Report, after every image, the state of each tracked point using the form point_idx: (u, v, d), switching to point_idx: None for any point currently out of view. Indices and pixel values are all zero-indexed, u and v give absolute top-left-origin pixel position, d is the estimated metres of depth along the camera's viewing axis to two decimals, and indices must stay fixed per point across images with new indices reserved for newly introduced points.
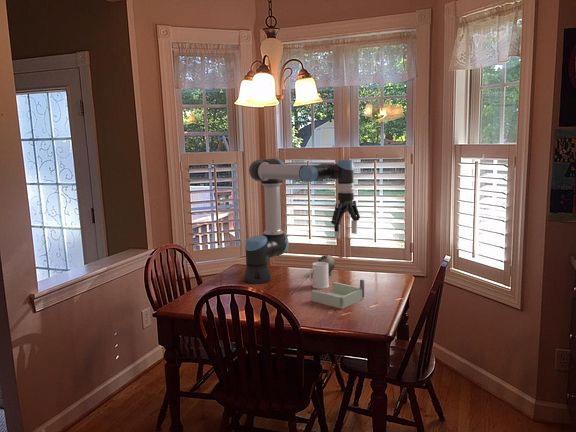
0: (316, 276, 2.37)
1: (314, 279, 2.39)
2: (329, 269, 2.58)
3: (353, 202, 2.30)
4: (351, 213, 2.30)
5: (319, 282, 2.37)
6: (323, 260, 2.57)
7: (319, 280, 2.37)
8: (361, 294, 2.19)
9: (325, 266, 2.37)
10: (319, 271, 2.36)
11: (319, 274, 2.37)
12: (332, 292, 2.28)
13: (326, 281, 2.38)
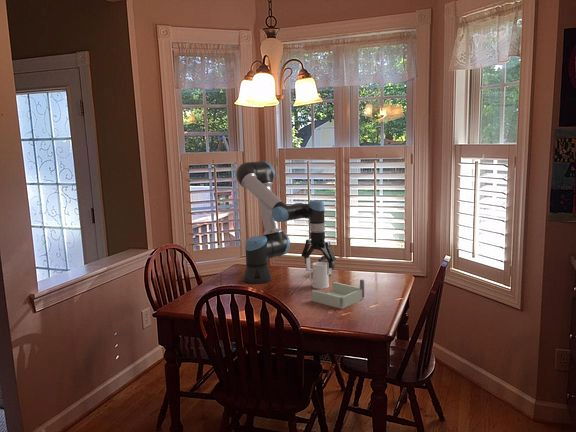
0: (316, 276, 2.37)
1: (314, 279, 2.39)
2: None
3: None
4: None
5: (319, 282, 2.37)
6: (323, 260, 2.57)
7: (319, 280, 2.37)
8: (361, 294, 2.19)
9: (325, 266, 2.37)
10: (319, 271, 2.36)
11: (319, 274, 2.37)
12: (332, 292, 2.28)
13: (326, 281, 2.38)
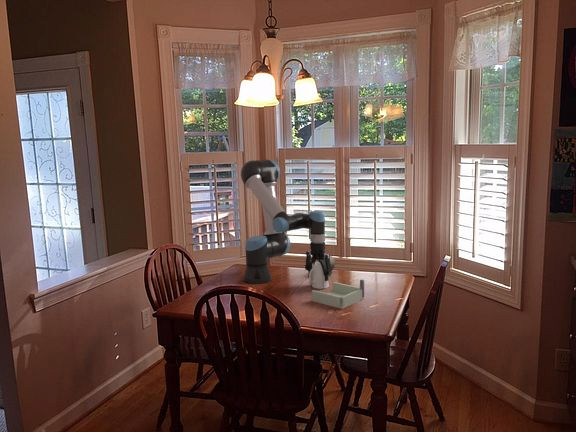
0: (316, 276, 2.38)
1: (314, 279, 2.39)
2: None
3: None
4: None
5: (318, 282, 2.37)
6: None
7: (319, 280, 2.37)
8: (361, 294, 2.19)
9: None
10: (318, 271, 2.37)
11: (319, 274, 2.37)
12: (332, 292, 2.28)
13: None
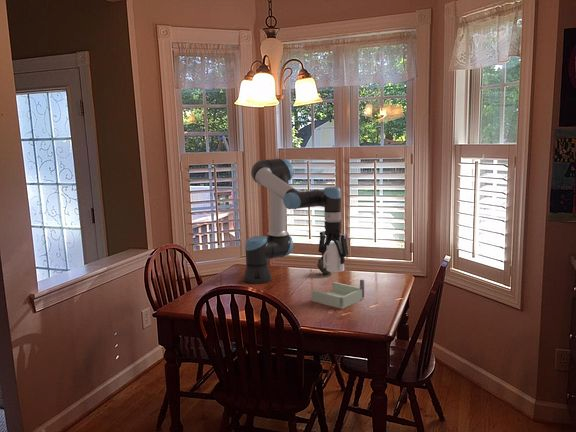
0: (331, 258, 2.17)
1: (328, 262, 2.18)
2: None
3: None
4: None
5: (333, 265, 2.17)
6: None
7: (334, 263, 2.17)
8: (361, 294, 2.19)
9: None
10: (333, 253, 2.16)
11: (334, 256, 2.16)
12: (332, 292, 2.28)
13: None
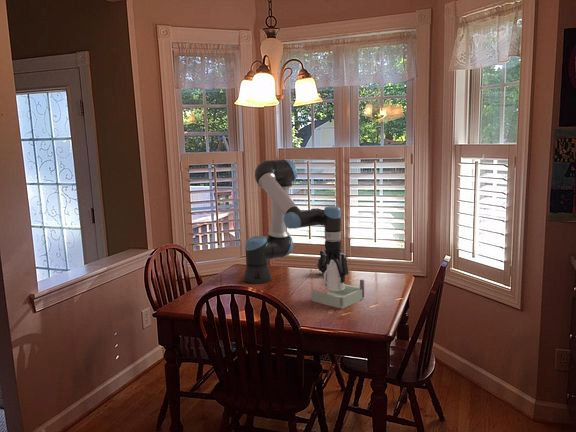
0: (331, 277, 2.18)
1: (329, 280, 2.20)
2: None
3: None
4: None
5: (334, 283, 2.18)
6: None
7: (334, 282, 2.18)
8: (361, 294, 2.19)
9: None
10: (334, 272, 2.17)
11: (334, 275, 2.18)
12: (332, 292, 2.28)
13: None
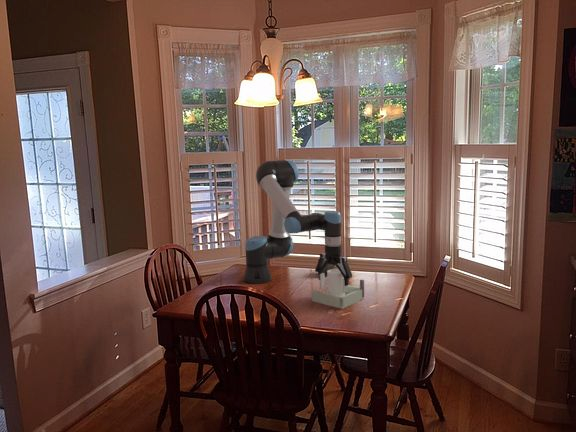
0: (331, 285, 2.19)
1: (329, 288, 2.20)
2: (329, 269, 2.58)
3: None
4: None
5: (334, 291, 2.19)
6: None
7: (335, 289, 2.19)
8: (361, 294, 2.19)
9: (341, 274, 2.18)
10: (334, 280, 2.18)
11: (334, 283, 2.18)
12: None
13: (342, 290, 2.20)
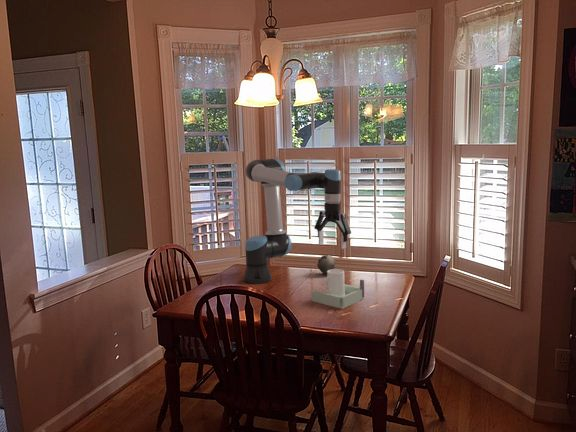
0: (331, 285, 2.19)
1: (329, 288, 2.20)
2: (329, 269, 2.58)
3: None
4: None
5: (334, 291, 2.19)
6: (323, 260, 2.57)
7: (335, 289, 2.19)
8: (361, 294, 2.19)
9: (341, 274, 2.18)
10: (334, 280, 2.18)
11: (334, 283, 2.18)
12: None
13: (342, 290, 2.20)
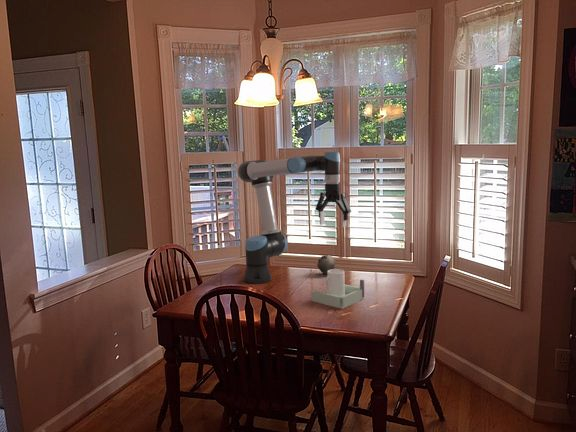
0: (331, 285, 2.19)
1: (329, 288, 2.20)
2: (329, 269, 2.58)
3: None
4: None
5: (334, 291, 2.19)
6: (323, 260, 2.57)
7: (335, 289, 2.19)
8: (361, 294, 2.19)
9: (341, 274, 2.18)
10: (334, 280, 2.18)
11: (335, 283, 2.18)
12: None
13: (342, 290, 2.20)
